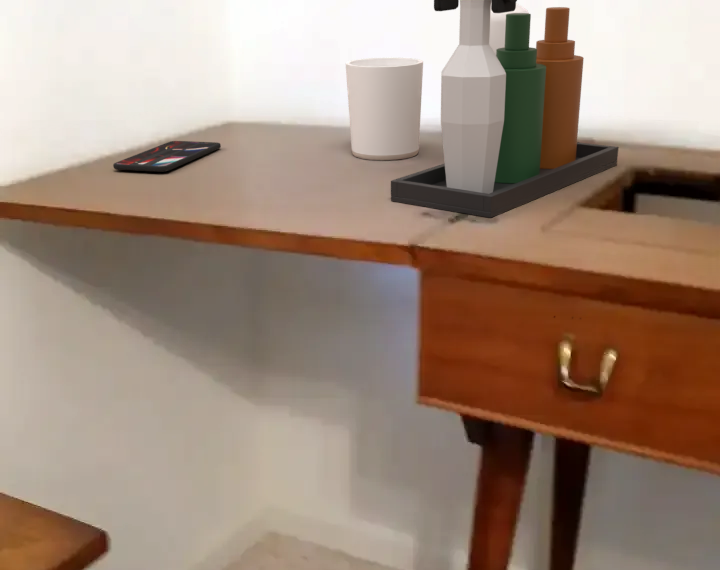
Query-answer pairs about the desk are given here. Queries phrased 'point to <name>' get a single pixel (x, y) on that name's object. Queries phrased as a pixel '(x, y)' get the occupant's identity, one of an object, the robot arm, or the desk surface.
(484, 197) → the tray
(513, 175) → the green bottle
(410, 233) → the desk surface
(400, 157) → the mug
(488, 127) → the low poly bottle
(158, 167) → the smartphone
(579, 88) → the amber bottle
